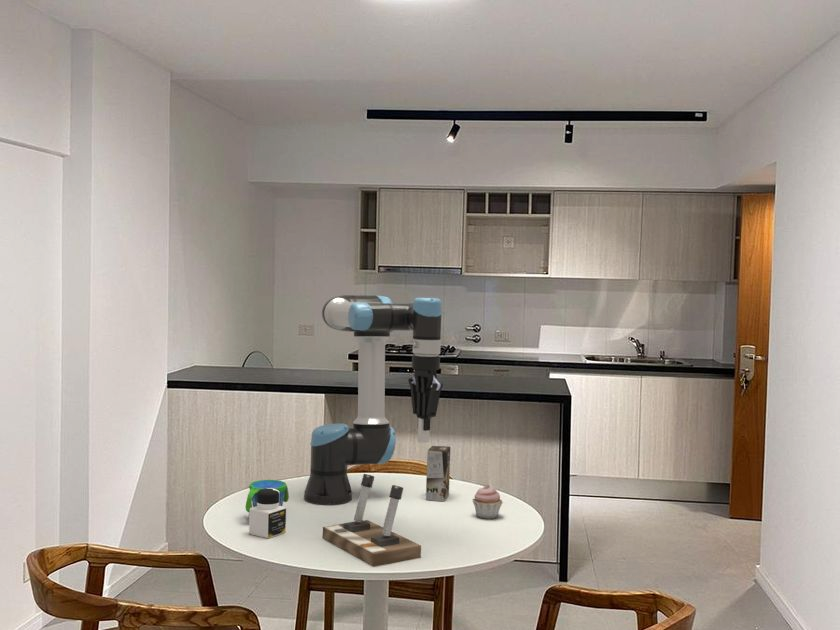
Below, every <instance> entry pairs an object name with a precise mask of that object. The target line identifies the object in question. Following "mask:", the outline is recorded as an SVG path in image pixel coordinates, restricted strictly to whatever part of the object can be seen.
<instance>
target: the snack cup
mask: <svg viewBox="0 0 840 630" xmlns="http://www.w3.org/2000/svg"><path fill="white" fill-rule="evenodd" d="M287 485H288V484H287V483H286V482H285V481H282V480H278V479H260V480H255V481H252V482H251V483H249V485H248V487H249V491H248V494H247V497H246V502H245V511H246V512H247V513H249V514H250V508H252V507H256V506H258V505H257V492H258V491H259V490H261V489H265V488H273V489H276V490H278V491H279V492H280V497H279V505H278V506H283V507H284V503H287V502H288V501H289V499H290V498H289V497H290V496H289V489H288V486H287Z"/></svg>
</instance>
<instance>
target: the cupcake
mask: <svg viewBox="0 0 840 630" xmlns="http://www.w3.org/2000/svg"><path fill="white" fill-rule="evenodd" d="M471 500H472V504H473V505H474V511H475V515H476V517H478V518H479V519H485V520H493V519H496V518H498V516H499V513H500V509H501V507H502V504H503V503H504V501H503V500H502V499H501V494H500V493H499V492H498V491H497V489H496V487H495V486H493V485H492V484H490V483H486V484H484V485H483V487H480V488H478V490H477V492H476V493H475V495H474V497H473V498H472V499H471Z"/></svg>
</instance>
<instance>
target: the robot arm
mask: <svg viewBox="0 0 840 630" xmlns="http://www.w3.org/2000/svg"><path fill="white" fill-rule="evenodd" d="M442 315H443V310H442V301H441V299H440V298H436V297H416V298H414V301H413V303H411V302H406V303H393V301H392V299H390V298H389V297H388V296H383V295H377V294H375V295H363V294H362V295H361V294H359V295H357V294H356V295H349V294H343V295H337V296H335V297H332V298H329V299H328V300H327V301H326V302H325V303H324V304H323V306H322V309H321V318H322V320H323V322H324V324H325V325H326V326H328V327H329V328H331V329H333V330H335V331H339V332H353V338H354V339H355V340H356V341H357V343H358V361H357V362H358V363H357V364H358V367H357V368H358V372H357V373H358V375H357V377H358V379H357V380H358V381H357V382H358V385H357V386H358V387H357V389H358V390H357V392H358V394H357V400H358V401H357V417H356V419H355V420H353V423H352V424H353V425H352V426H353V427H349V425H348V424H346V423H342V422H341V423H328V424H323V425H320V426H317V427H316V428H314V429H313V430H312V432H311V437H310V438H311V439H310V474H309V477H308V480H307V483H306V486H305V488H304V491H303V499H304V501H305V502H308V503H311V504H317V505H327V506H328V505H330V506H331V505H340V504H346V503H349V502H351V501H352V500H353V490H352V487H351V484H350V479H349V477H348V466H356V465H357V466H358V465H360V466H361V465H379V464H386V463H388V462H390V460H391V459H392V457H393V455H394V452H395V449H396V443H397V442H396V441H397V437H396V435H395V434H396V431H395V429H394V428H393V427H392V426H390V421H389V420H388V419H387V418H386V417H385V416H386V415H385V412H386V411H385V410H386V409H385V403H386V399H385V398H386V397H385V396H386V395H385V394H386V393H385V391H386V389H385V388H386V361H385V360H386V342H387V341H388V340H389V339H390V337H391V333H392V332H394V331H404V332H405V331H408V332H410V331H412V353H413V354H414V355H412V356H411V368H412V369H413V370H414V374H413V377H410V378H408V383H409V388H410V395H411V396H410V397H411V406H412V413H413V414H414V415H416V418H417V443H420V444H421V443H423V444H424V443H430V430H431V419H432V418H435V417H436V416H437V412H438V407H439V406H438V405H439V400H440V396H441V391H442V388H443V386H444V383H442V382H439V381H438V375H437V371H439V370H440V368H441V366H440V365H441V357H440V356H439V355H440V354H441V344H442V343H441V342H442V340H441V336H442V335H441V334H442V333H441V332H442Z"/></svg>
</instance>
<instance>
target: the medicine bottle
mask: <svg viewBox="0 0 840 630" xmlns="http://www.w3.org/2000/svg"><path fill="white" fill-rule="evenodd" d="M279 497H280V492H279V491H278V490H276V489H273V488H265V489H261V490H259V491H258V492H257V505H258V506H256V507H253V506H252V508H250V513H249V523H248V526H249V527H248V534H249V535H251V536H252V535H253V536H256V537H261V538H264V539H271V538H274V537H277V536H280V535H282V534H285V533H286V530H287V529H286V527H287V525H286V524H287V507H286V506H284V505H283V506H278V505H279Z"/></svg>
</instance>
